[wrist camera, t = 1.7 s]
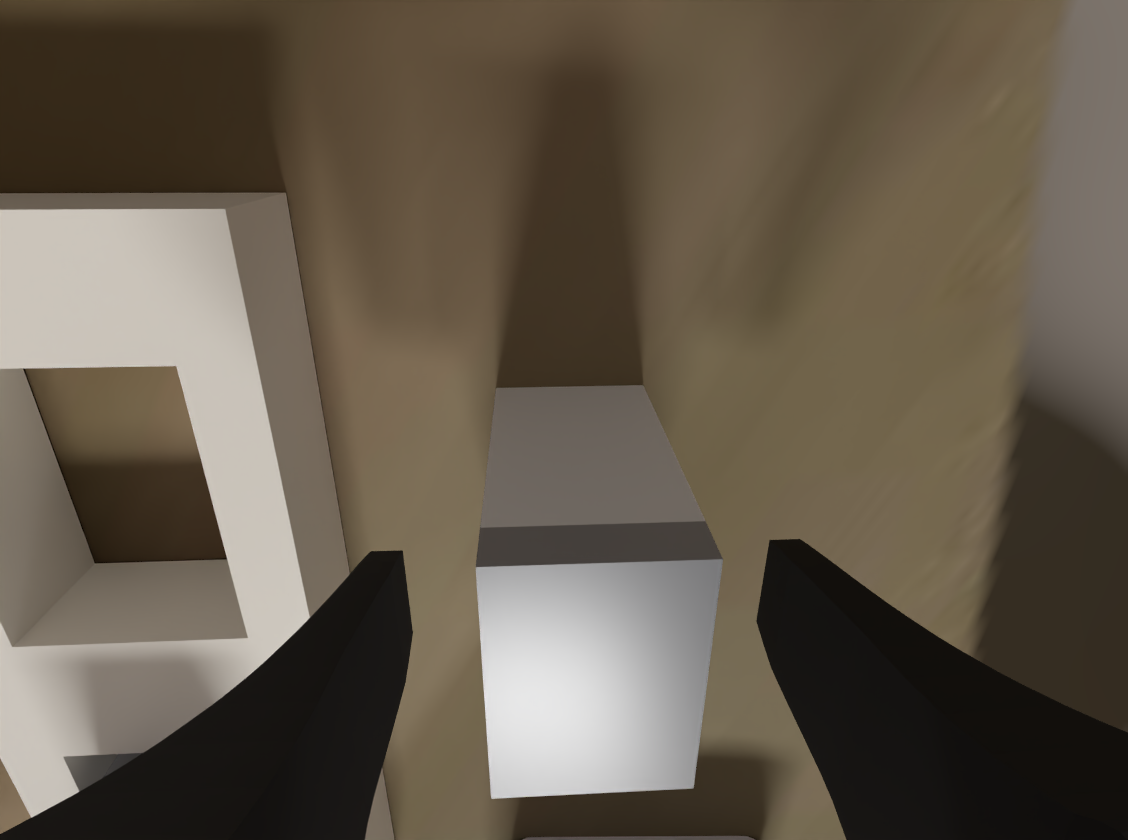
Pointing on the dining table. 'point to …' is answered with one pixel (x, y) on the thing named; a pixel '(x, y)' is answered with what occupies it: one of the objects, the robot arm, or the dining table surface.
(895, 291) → the dining table surface
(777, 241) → the dining table surface
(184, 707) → the power strip
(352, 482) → the dining table surface
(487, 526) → the grey plug
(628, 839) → the charger
